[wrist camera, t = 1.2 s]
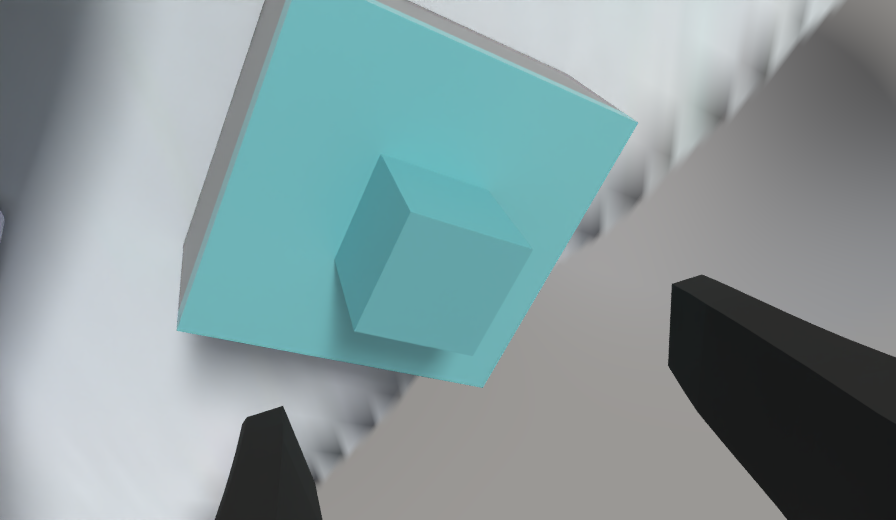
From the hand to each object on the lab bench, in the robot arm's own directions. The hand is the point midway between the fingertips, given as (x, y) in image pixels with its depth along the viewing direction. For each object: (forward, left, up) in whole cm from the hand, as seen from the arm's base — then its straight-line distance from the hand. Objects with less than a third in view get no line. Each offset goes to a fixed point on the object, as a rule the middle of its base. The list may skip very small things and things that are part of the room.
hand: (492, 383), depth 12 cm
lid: (0, 0, -7) cm, 7 cm away
